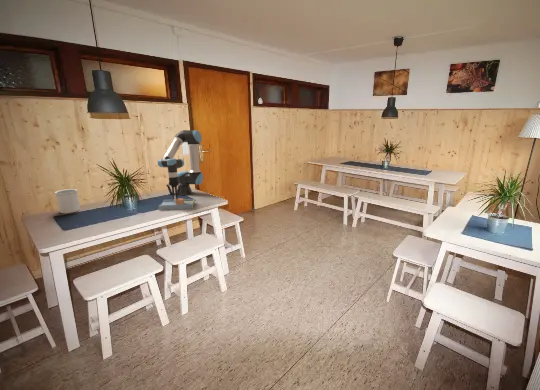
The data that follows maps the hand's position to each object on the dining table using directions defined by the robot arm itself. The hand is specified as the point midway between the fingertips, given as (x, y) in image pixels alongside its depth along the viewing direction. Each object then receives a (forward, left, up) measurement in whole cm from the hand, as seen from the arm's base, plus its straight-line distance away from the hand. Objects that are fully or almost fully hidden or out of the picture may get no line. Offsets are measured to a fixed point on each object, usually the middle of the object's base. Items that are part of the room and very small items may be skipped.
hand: (175, 202), depth 232 cm
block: (0, +4, -1) cm, 4 cm away
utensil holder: (+2, -87, -4) cm, 87 cm away
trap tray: (0, +1, -4) cm, 4 cm away
